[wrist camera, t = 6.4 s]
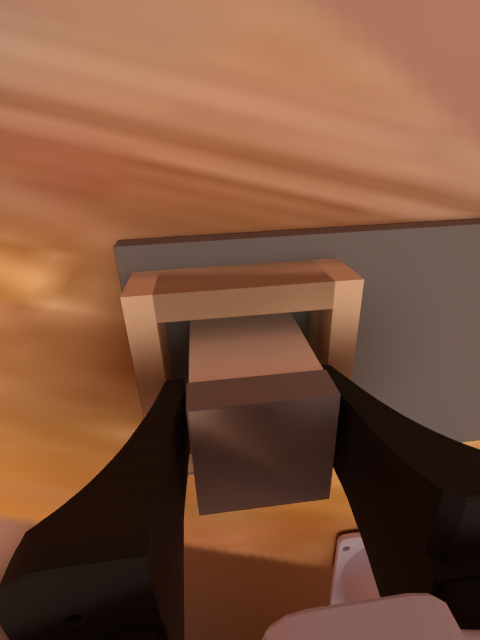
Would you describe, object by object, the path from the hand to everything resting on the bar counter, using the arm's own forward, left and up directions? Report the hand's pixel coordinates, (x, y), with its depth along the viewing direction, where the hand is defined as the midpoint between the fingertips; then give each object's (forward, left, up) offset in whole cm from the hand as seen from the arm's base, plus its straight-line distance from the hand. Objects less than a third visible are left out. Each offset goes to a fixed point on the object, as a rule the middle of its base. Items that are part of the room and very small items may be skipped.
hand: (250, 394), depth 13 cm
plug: (0, 0, -3) cm, 3 cm away
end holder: (0, 0, -4) cm, 4 cm away
